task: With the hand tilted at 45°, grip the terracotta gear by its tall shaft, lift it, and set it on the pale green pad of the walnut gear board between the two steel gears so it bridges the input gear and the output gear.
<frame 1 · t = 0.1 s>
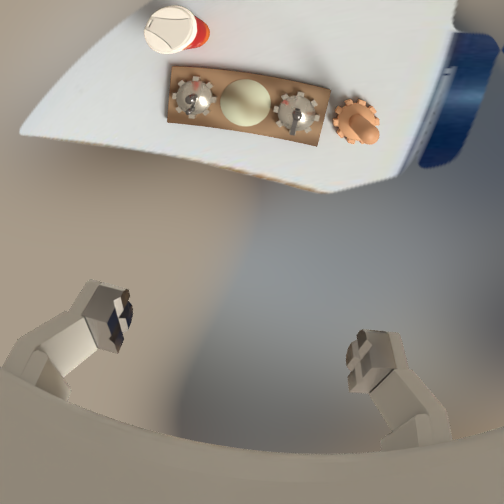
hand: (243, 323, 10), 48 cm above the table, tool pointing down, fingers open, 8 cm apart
idler gear: (355, 120, 48), on the table
gear board: (246, 101, 48), on the table
input gear: (197, 95, 48), resting on gear board
paper cup: (195, 34, 41), on the table
output gear: (296, 110, 49), resting on gear board
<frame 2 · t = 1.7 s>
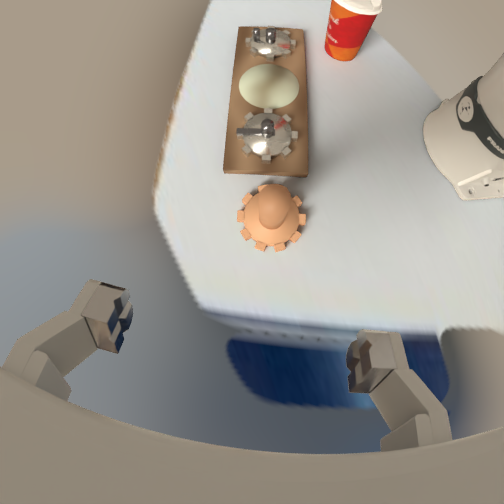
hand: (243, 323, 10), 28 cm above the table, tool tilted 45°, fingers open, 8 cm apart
idler gear: (271, 219, 38), on the table
gear board: (268, 90, 40), on the table
input gear: (270, 50, 41), resting on gear board
paper cup: (339, 51, 41), on the table
output gear: (266, 141, 39), resting on gear board
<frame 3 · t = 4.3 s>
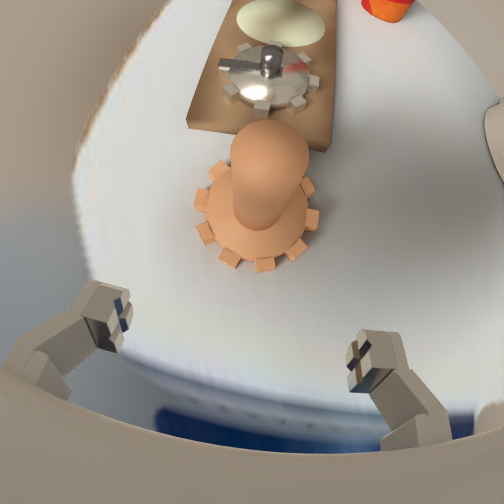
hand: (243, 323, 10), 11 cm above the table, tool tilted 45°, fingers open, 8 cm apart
idler gear: (256, 212, 21), on the table
gear board: (279, 30, 24), on the table
paper cup: (380, 11, 26), on the table
output gear: (266, 90, 23), resting on gear board
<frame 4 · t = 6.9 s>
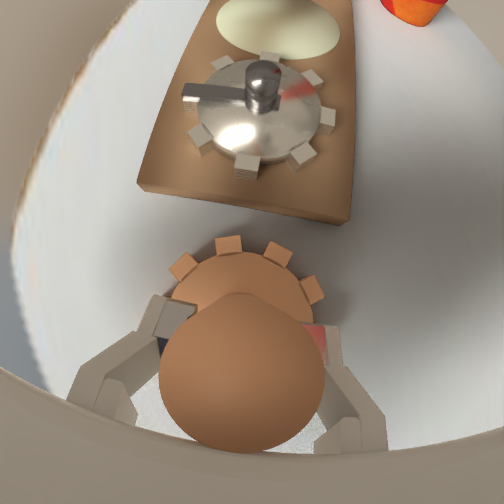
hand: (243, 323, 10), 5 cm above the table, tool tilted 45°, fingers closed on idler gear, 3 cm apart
idler gear: (239, 322, 15), on the table, touching gripper
gear board: (276, 34, 18), on the table
paper cup: (403, 11, 19), on the table
output gear: (256, 127, 16), resting on gear board
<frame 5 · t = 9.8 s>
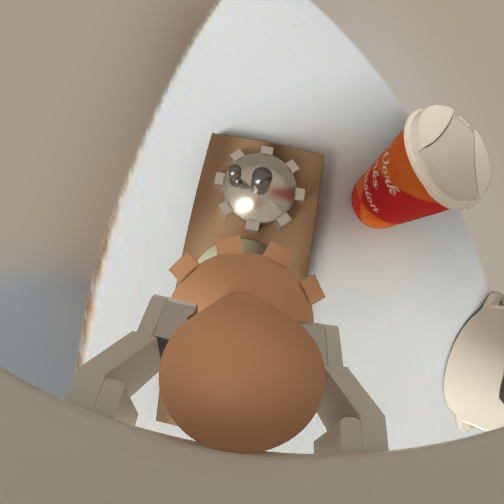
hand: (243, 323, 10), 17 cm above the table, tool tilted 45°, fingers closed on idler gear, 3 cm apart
idler gear: (239, 322, 15), point 12 cm above the table, touching gripper
gear board: (239, 289, 27), on the table
input gear: (257, 195, 28), resting on gear board
paper cup: (374, 203, 29), on the table
when the fingers open (8 cm above the table, at t = 12.8 s): idler gear drops 1 cm, resting on gear board.
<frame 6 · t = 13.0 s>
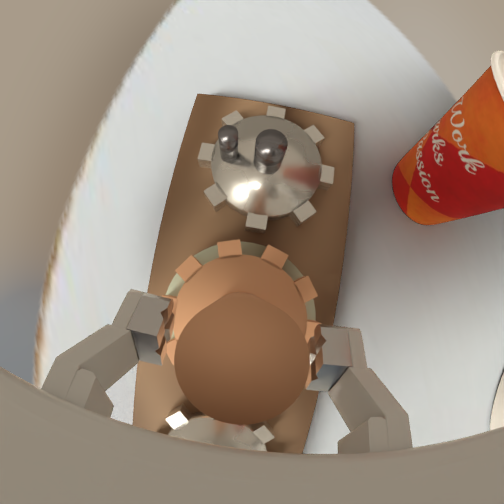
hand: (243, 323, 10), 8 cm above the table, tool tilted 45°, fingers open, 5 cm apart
idler gear: (239, 319, 16), point 2 cm above the table, touching gear board
gear board: (238, 316, 18), on the table
input gear: (263, 177, 19), resting on gear board
paper cup: (419, 191, 20), on the table
output gear: (217, 441, 17), resting on gear board
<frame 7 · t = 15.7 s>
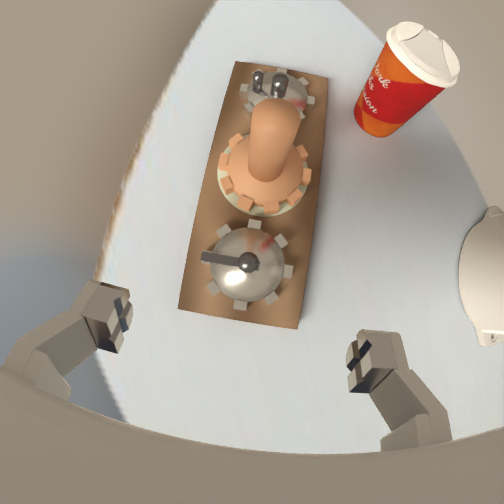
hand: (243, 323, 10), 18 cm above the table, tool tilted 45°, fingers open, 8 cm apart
idler gear: (264, 171, 28), point 2 cm above the table, touching gear board
gear board: (262, 177, 29), on the table
input gear: (275, 106, 31), resting on gear board
paper cup: (373, 119, 31), on the table
output gear: (246, 266, 28), resting on gear board
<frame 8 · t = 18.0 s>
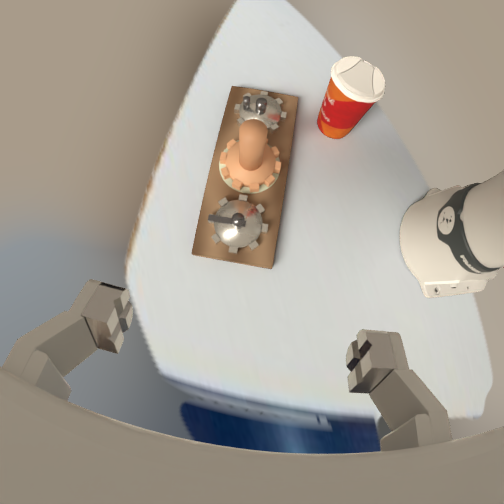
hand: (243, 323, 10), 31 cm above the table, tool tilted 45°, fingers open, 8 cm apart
idler gear: (250, 164, 42), point 2 cm above the table, touching gear board
gear board: (249, 168, 43), on the table
input gear: (259, 119, 44), resting on gear board
paper cup: (332, 125, 45), on the table
output gear: (238, 227, 42), resting on gear board
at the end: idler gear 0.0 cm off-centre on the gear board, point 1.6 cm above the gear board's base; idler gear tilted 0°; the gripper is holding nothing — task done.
